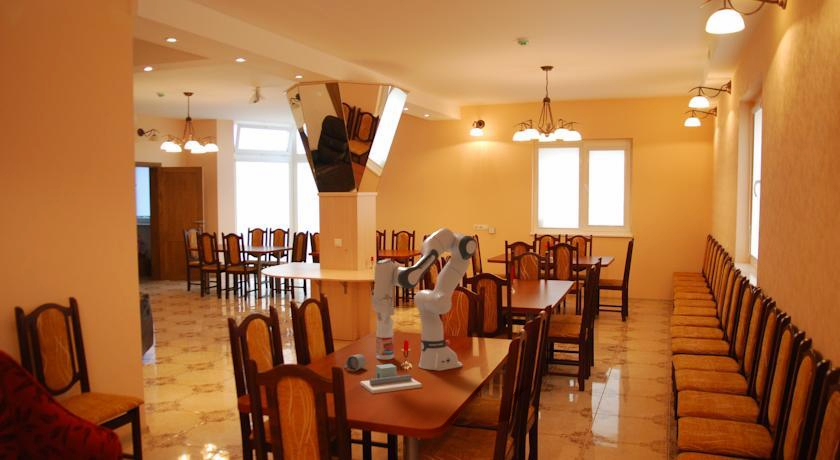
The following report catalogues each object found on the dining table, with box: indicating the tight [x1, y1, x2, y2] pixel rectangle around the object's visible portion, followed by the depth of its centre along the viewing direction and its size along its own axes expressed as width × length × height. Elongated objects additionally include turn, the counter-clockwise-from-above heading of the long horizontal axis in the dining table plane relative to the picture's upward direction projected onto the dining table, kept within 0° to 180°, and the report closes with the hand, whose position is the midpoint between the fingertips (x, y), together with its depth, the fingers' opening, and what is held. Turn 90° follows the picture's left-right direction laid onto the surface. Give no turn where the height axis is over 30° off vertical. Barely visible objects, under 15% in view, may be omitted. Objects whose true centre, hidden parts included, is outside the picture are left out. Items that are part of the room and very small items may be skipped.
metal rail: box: [369, 373, 413, 386], centre depth 314 cm, size 20×2×2 cm, turn 115°
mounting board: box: [359, 378, 423, 394], centre depth 314 cm, size 24×16×2 cm, turn 115°
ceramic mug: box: [343, 353, 367, 372], centre depth 345 cm, size 11×8×8 cm
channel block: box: [375, 363, 398, 378], centre depth 327 cm, size 8×6×6 cm
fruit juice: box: [375, 313, 395, 361], centre depth 368 cm, size 9×9×28 cm
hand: (383, 322), depth 328 cm, fingers open, 8 cm apart
